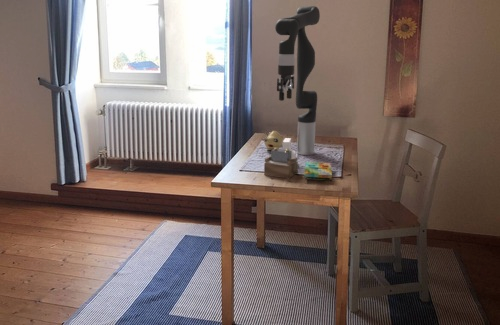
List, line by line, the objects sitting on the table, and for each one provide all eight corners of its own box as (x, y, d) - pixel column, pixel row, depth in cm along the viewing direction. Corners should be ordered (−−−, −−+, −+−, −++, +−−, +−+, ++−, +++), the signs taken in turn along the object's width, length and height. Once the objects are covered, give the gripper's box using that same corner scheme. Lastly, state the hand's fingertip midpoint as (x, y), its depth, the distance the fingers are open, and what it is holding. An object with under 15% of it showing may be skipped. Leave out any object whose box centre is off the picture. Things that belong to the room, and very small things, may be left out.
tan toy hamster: (261, 152, 259) (261, 132, 256) (267, 147, 270) (267, 128, 267) (278, 153, 256) (279, 134, 253) (284, 148, 267) (284, 129, 264)
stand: (273, 169, 226) (274, 153, 224) (297, 172, 221) (297, 157, 219) (264, 174, 218) (264, 158, 216) (288, 178, 212) (288, 162, 210)
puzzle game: (330, 161, 224) (332, 173, 205) (330, 171, 226) (331, 183, 206) (305, 160, 226) (304, 172, 207) (305, 169, 227) (304, 182, 208)
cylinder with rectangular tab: (294, 166, 231) (295, 142, 228) (275, 165, 233) (276, 141, 230) (296, 162, 240) (297, 138, 236) (278, 161, 241) (279, 137, 238)
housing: (291, 161, 218) (291, 148, 217) (287, 163, 214) (287, 150, 213) (275, 158, 222) (275, 146, 220) (271, 161, 218) (271, 148, 216)
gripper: (287, 65, 213) (286, 101, 217) (299, 63, 225) (298, 98, 230) (272, 64, 217) (271, 100, 221) (285, 63, 229) (284, 97, 233)
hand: (285, 99), depth 225 cm, fingers open, 8 cm apart
